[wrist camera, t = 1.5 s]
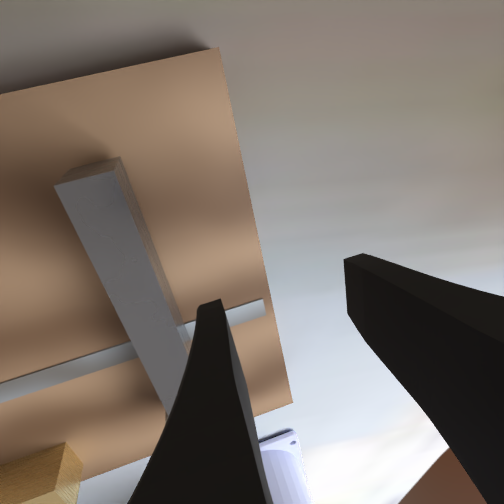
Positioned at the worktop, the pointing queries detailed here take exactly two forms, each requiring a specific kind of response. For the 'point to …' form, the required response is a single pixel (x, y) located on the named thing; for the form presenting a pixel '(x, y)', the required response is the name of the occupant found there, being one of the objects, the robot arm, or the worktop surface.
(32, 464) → the light wood small block
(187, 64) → the latch board
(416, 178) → the worktop surface
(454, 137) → the worktop surface
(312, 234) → the worktop surface
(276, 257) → the worktop surface
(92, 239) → the swing bar
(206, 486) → the robot arm
